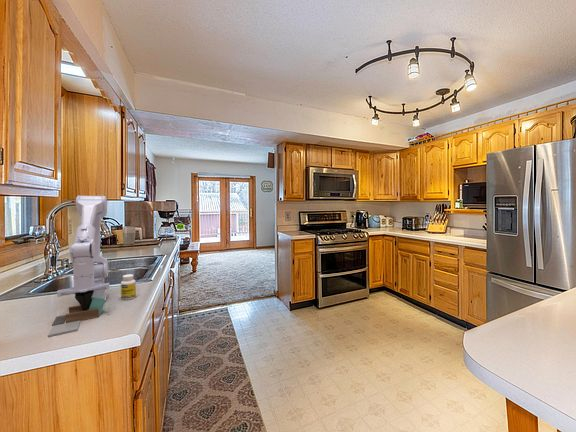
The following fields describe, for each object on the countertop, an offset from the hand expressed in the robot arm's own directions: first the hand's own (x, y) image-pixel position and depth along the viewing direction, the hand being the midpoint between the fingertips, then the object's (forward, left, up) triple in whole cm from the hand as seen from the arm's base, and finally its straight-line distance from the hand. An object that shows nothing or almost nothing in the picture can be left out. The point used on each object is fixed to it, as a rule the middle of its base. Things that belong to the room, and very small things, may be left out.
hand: (85, 311), depth 91 cm
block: (-1, +2, -1) cm, 2 cm away
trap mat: (0, -7, -2) cm, 7 cm away
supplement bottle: (-12, +14, -2) cm, 18 cm away
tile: (+8, -4, -2) cm, 10 cm away
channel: (0, 0, -2) cm, 2 cm away
